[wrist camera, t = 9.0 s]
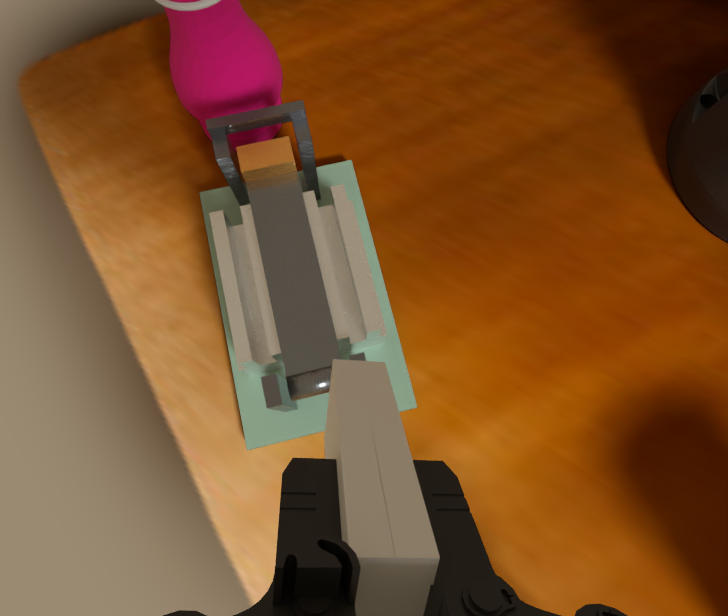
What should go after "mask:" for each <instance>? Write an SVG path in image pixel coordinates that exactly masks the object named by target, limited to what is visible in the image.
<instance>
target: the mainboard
mask: <svg viewBox="0 0 728 616" xmlns="http://www.w3.org/2000/svg"><path fill="white" fill-rule="evenodd" d="M316 170H317V177H318V183H319V190H320V196H321V199H320V200H316V201H317V205H318V208H319V207H323V206H328V205H332V197H331V188H330V187H331V186H336V185H340V184H344V187H345V191H346V195H347V199H348V201H350V200H352V201H353V205H354V209H355V213H356V217H357V221H358V224H359V228H360V232H361V236H362V240H363V244H364V247H365V251H366V255H367V259H368V263H369V266H370V270H371V274H372V278H373V282H374V286H375V289H376V293H377V297H378V301H379V305H380V309H381V312H382V316H383V320H384V324H385V328H386V331H387V338H386V341H385V343H383V344H379V345H375V346H371V347H367V348H363V349H359V350H354V351H350V352H346V353H342V354H341V359H342V360H349V356H350V355H354V354H358V353H362V352H364V354H365V358H366V361H375V362H385V364H386V368H387V371H388V375H389V378H390V382H391V385H392V389H393V392H394V396H395V400H396V403H397V407H398V410H399V412H401V411H405V410H409V409H413V408H417V404H416V400H415V397H414V393H413V389H412V385H411V382H410V378H409V374H408V370H407V367H406V363H405V359H404V355H403V352H402V348H401V344H400V340H399V337H398V333H397V329H396V325H395V322H394V318H393V314H392V310H391V307H390V303H389V299H388V295H387V292H386V288H385V284H384V280H383V277H382V273H381V269H380V265H379V262H378V258H377V254H376V250H375V247H374V243H373V239H372V235H371V232H370V228H369V224H368V220H367V217H366V213H365V209H364V205H363V202H362V198H361V194H360V190H359V187H358V183H357V179H356V175H355V172H354V168H353V164H352V160H348V161H343V162H339V163H334V164H329V165H325V166H320V167H316ZM297 173H298V177H299V181H300V186H301V190H302V193H303V192H307V188H306V183H305V179H304V175H303V170H301V171H297ZM199 193H200V198H201V204H202V209H203V214H204V220H205V225H206V231H207V236H208V241H209V247H210V252H211V258H212V263H213V268H214V274H215V279H216V285H217V290H218V296H219V301H220V306H221V312H222V317H223V323H224V328H225V333H226V339H227V344H228V350H229V355H230V361H231V366H232V371H233V377H234V382H235V388H236V393H237V398H238V404H239V409H240V415H241V420H242V425H243V431H244V436H245V442H246V447H247V450H251V449H255V448H259V447H263V446H267V445H271V444H275V443H279V442H283V441H286V440H290V439H294V438H298V437H302V436H306V435H310V434H314V433H318V432H322V431H325V427H326V418H327V409H328V400H329V392H328V393H324V394H320V395H316V396H312V397H308V398H304V399H300V400H296V402H297V406H298V409H297V410H293V411H289V412H282V411H277V410H272V409H267V407H266V402H265V397H264V392H263V387H262V382H261V377H263V376H267V375H271V374H278V375H279V376H281V377H282V378H284V379H285V380H286V374H285V369H284V368H280V369H276V370H272V371H268V372H264V373H259V374H255V375H251V376H248V375H246V374H244V373H242V372H240V371H239V370H238V365H237V360H236V354H235V349H234V344H233V338H232V333H231V328H230V322H229V317H228V312H227V306H226V301H225V296H224V290H223V285H222V280H221V274H220V269H219V264H218V258H217V253H216V248H215V242H214V237H213V232H212V226H211V220H210V215H209V213H211V212H216V211H220V210H223V211H224V213H225V214H226V216H227V218H228V219H229V221H230V222H231V224H232V226H237V225H241V224H243V219H242V214H241V210H240V205H239V203H238V201H237V199H236V197H235V195H234V193H233V191H232V190H231V188H230V186H227V187H222V188H217V189H213V190H208V191H203V192H199Z"/></svg>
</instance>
